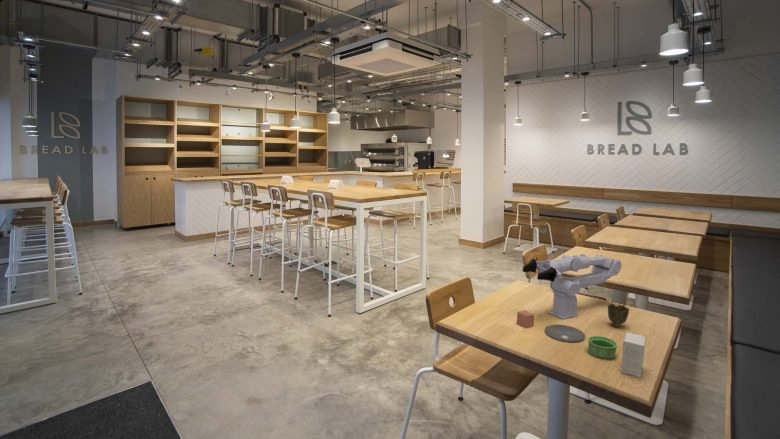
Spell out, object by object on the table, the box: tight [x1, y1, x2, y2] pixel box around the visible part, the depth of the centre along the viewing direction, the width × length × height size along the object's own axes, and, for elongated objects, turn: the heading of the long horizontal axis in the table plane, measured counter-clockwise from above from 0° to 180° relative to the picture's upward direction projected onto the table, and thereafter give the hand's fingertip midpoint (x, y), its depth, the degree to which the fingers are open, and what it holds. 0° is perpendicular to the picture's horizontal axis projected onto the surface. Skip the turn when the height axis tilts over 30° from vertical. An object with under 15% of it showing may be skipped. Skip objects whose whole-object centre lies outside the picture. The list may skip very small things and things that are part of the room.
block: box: [516, 309, 535, 329], centre depth 161 cm, size 4×5×5 cm
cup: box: [607, 303, 630, 328], centre depth 160 cm, size 8×7×8 cm
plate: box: [544, 324, 586, 344], centre depth 153 cm, size 14×14×1 cm
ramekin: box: [587, 335, 618, 360], centre depth 138 cm, size 9×9×4 cm
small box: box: [620, 332, 647, 378], centre depth 127 cm, size 8×6×10 cm
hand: (530, 273), depth 160 cm, fingers open, 7 cm apart
